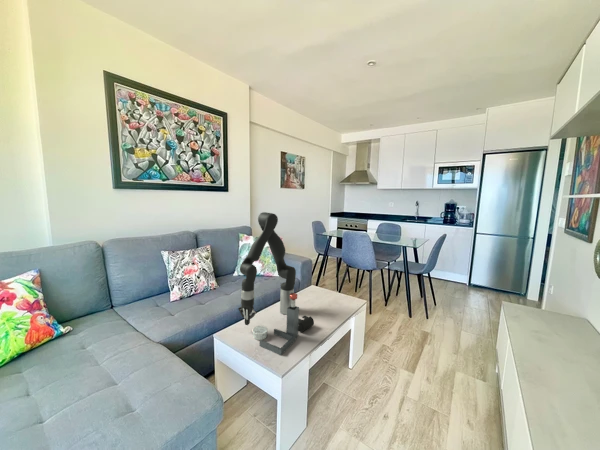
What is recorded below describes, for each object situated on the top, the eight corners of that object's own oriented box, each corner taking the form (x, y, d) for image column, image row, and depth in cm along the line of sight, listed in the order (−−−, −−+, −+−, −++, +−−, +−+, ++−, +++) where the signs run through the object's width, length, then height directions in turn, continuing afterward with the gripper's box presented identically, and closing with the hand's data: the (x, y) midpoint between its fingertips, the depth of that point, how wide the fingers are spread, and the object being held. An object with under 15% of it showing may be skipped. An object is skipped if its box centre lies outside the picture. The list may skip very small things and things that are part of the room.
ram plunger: (291, 310, 143) (292, 292, 141) (298, 312, 141) (298, 294, 139) (287, 313, 139) (288, 294, 138) (294, 315, 137) (294, 296, 136)
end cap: (303, 334, 145) (303, 324, 144) (294, 329, 150) (295, 319, 149) (313, 328, 152) (314, 318, 151) (305, 323, 157) (305, 313, 156)
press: (279, 329, 149) (280, 301, 147) (299, 336, 142) (300, 307, 140) (259, 345, 133) (259, 315, 130) (281, 355, 126) (281, 322, 123)
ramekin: (249, 337, 140) (249, 330, 139) (259, 330, 148) (259, 323, 147) (260, 343, 135) (260, 335, 135) (270, 335, 143) (270, 328, 142)
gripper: (260, 297, 143) (259, 325, 145) (243, 292, 149) (243, 318, 152) (252, 301, 137) (251, 330, 139) (234, 296, 143) (234, 323, 145)
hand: (247, 324), depth 145 cm, fingers closed
